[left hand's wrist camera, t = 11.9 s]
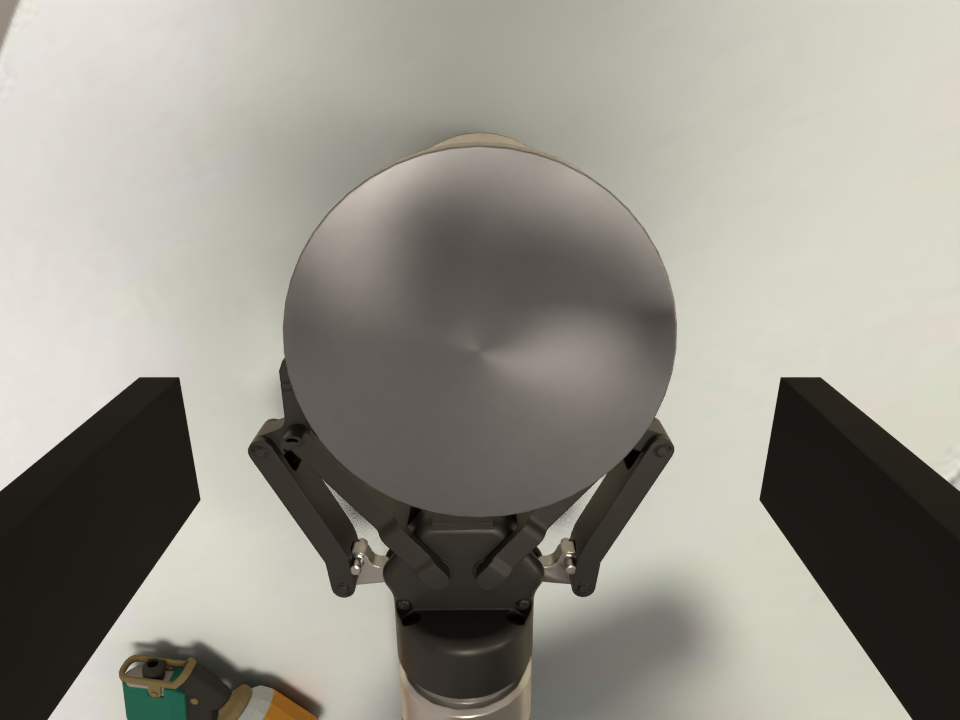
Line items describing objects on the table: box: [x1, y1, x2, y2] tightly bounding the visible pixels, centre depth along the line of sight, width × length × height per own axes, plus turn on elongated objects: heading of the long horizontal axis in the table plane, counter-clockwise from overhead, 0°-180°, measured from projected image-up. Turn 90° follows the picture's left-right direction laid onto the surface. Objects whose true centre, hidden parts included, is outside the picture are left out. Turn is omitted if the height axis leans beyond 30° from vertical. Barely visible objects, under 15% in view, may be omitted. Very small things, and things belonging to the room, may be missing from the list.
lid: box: [283, 141, 677, 517], centre depth 19 cm, size 10×10×2 cm
